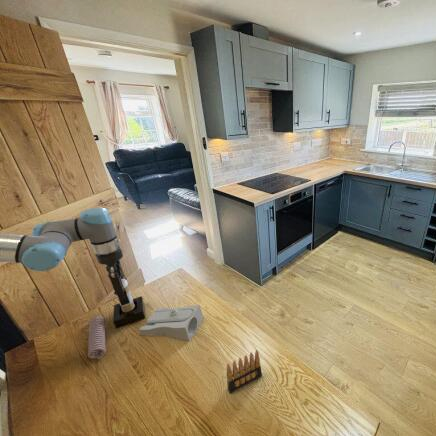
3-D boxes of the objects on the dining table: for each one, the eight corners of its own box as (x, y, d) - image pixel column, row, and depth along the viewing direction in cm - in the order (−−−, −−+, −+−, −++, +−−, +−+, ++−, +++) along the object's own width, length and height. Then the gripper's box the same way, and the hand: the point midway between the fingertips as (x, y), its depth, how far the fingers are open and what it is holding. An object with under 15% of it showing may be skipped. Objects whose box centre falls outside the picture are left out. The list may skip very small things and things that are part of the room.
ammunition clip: (259, 371, 78) (258, 346, 73) (262, 376, 76) (260, 350, 72) (227, 388, 73) (223, 362, 68) (229, 393, 72) (225, 367, 67)
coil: (104, 347, 80) (103, 313, 93) (86, 353, 77) (88, 318, 90) (106, 357, 82) (105, 322, 95) (89, 363, 79) (90, 327, 92)
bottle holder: (115, 329, 92) (112, 321, 90) (116, 312, 100) (114, 305, 98) (145, 318, 97) (143, 311, 95) (144, 303, 104) (141, 296, 103)
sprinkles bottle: (119, 312, 95) (109, 285, 89) (127, 303, 99) (118, 278, 93) (130, 313, 95) (120, 286, 89) (137, 304, 99) (129, 278, 93)
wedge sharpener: (189, 341, 88) (186, 327, 85) (140, 334, 90) (135, 321, 87) (203, 318, 97) (201, 305, 95) (158, 312, 100) (154, 299, 97)
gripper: (119, 258, 80) (137, 310, 90) (120, 237, 94) (135, 284, 103) (92, 265, 77) (113, 318, 86) (97, 242, 90) (115, 290, 100)
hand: (125, 299), depth 95 cm, fingers closed on sprinkles bottle, 4 cm apart
